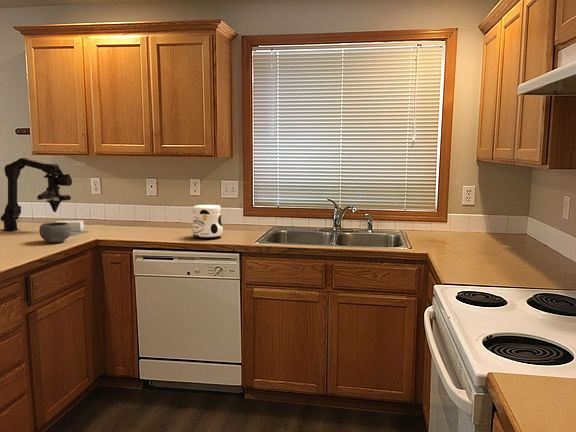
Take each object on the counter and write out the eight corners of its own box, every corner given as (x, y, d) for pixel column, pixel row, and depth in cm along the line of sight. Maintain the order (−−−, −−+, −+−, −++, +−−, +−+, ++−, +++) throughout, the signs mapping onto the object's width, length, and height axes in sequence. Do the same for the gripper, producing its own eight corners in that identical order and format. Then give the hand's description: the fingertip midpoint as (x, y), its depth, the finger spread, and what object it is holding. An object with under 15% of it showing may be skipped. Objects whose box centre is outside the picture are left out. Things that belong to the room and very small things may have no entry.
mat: (49, 234, 286) (49, 233, 286) (65, 230, 300) (65, 229, 300) (74, 235, 283) (74, 234, 283) (89, 231, 296) (89, 230, 296)
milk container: (187, 239, 275) (187, 207, 273) (197, 234, 292) (197, 204, 290) (217, 240, 273) (217, 208, 270) (226, 235, 290) (225, 204, 287)
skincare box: (54, 232, 291) (80, 232, 293) (53, 222, 290) (80, 222, 292) (58, 229, 299) (84, 229, 301) (58, 219, 298) (84, 220, 300)
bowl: (62, 238, 273) (61, 220, 272) (76, 242, 264) (75, 223, 262) (34, 242, 262) (33, 223, 260) (48, 246, 252) (47, 226, 251)
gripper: (29, 186, 284) (31, 213, 286) (57, 187, 280) (59, 214, 282) (43, 184, 295) (44, 210, 297) (70, 185, 291) (72, 212, 293)
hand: (54, 211), depth 292 cm, fingers closed
